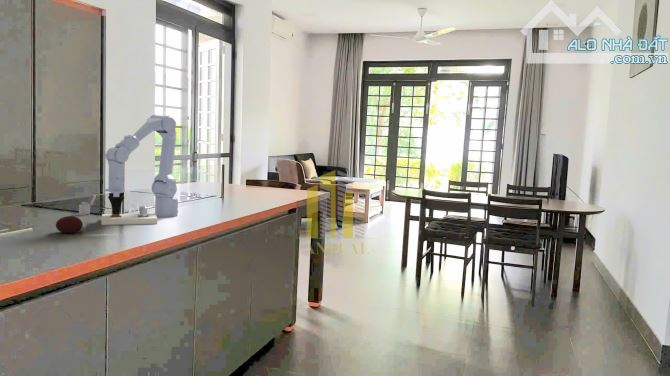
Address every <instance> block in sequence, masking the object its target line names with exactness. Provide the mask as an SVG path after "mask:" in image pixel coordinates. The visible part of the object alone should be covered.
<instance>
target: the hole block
mask: <svg viewBox="0 0 670 376" xmlns="http://www.w3.org/2000/svg"><path fill="white" fill-rule="evenodd" d="M139 216H140V213H120V217H112V213H105V214H104V213H103V214H101V223H100V224H101V226H108V225H109V226H112V225H113V226H114V225H116V226H117V225H119V226H120V225H122V226H123V225H157V224H158V216H156V214H155V213H147V217H139Z"/></svg>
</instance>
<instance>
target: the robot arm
mask: <svg viewBox="0 0 670 376" xmlns="http://www.w3.org/2000/svg"><path fill="white" fill-rule="evenodd" d="M176 126H177V122H176V120H175V119H174V117H172V116H171V115H157V114H152V115H151V116H150V117H148V118H147V119H146V121H145V123H143V124H142V126H141V127H139V129H138V130H136V132H134V133H133V134H132V135H131V134H128V135H125V136H124V137H123V139H122V140H120V142H119V143H116V144H115V146H114V147H110V148H108V149H107V151H106V153H105V154H104V155H105V159H106V161H107V164H108V182H107V183H108V184H107V185H108V186H107V187H108V188H105V189H104V191H105V192H108V196H107V198H108V199H109V200H108V201H109V203H110V206H111V213H112V212H113V214H119V212H120V213H121V208H122V203H123V201H124V199H125V192H126V191H125V190H126V189H125V175H126V174H125V171H126V170H125V169H126V162H127V161H128V160H129V156H130V155H131V154H132V153H133V152H134V151H135V150H136V149H138V148H139V146H140V142H141V141H142V140H144V138H146V137H147V136H149V135H150V134H151V133H153V132H155V133H157V134H159V136H160V137H161V138H162V141H161V150H160V160H159V167H158V174H157V175H156V176H154V178H153V179H154V180H153V181H152V185H151V192H152V193H153V194H154V200H155V201H154V214H156V216H157V217H163V218H164V217H166V218H167V217H178V214H179V209H178V207H179V202H178V200H179V199H178V197H177V196H175V195H176V194H177V192H178V187H177V179H176V178H175V177H174V176H173V169H174V160H175V152H176V151H175V150H176V145H177V143H176V141H177V132H176Z"/></svg>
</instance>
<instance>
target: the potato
mask: <svg viewBox="0 0 670 376" xmlns="http://www.w3.org/2000/svg"><path fill="white" fill-rule="evenodd" d="M83 224H84V223H83V221H82V220H81V219H80V218H79V217H76V216H74V215H73V216H72V215H69V216H68V215H67V216H63V217H61V218H58V220H57V221H56V222H55V227H56V230H58V232H61V233H64V234H65V233H66V234H74V233H78V232H79V231H81V230H82V228H83V226H84V225H83Z"/></svg>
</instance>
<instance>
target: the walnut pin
mask: <svg viewBox="0 0 670 376" xmlns="http://www.w3.org/2000/svg"><path fill="white" fill-rule="evenodd" d="M111 214H112V217H120V214H121V211H120V212H119V214H113V212H112V211H111Z"/></svg>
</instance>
